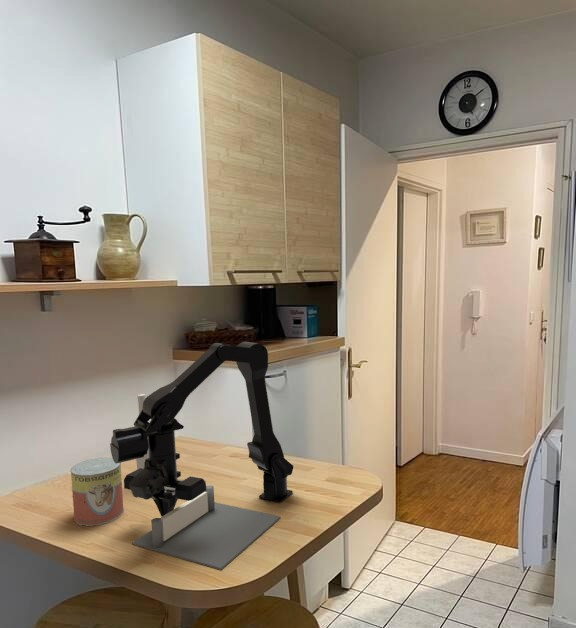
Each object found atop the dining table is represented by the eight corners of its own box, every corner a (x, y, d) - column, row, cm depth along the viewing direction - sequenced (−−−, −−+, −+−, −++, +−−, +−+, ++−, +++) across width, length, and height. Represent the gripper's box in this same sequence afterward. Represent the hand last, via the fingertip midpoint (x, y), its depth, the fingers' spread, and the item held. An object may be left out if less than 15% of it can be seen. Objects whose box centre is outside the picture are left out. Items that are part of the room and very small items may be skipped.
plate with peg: (200, 500, 128) (199, 477, 127) (280, 518, 117) (279, 493, 116) (132, 544, 108) (130, 517, 107) (221, 570, 97) (219, 540, 96)
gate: (209, 505, 123) (208, 484, 123) (216, 507, 122) (215, 486, 121) (158, 539, 107) (156, 516, 107) (166, 542, 106) (164, 518, 106)
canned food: (78, 530, 115) (75, 478, 114) (70, 512, 124) (66, 464, 123) (129, 516, 121) (126, 467, 120) (117, 500, 130) (114, 454, 129)
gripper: (102, 459, 108) (107, 530, 109) (172, 470, 100) (177, 547, 101) (139, 443, 118) (143, 508, 119) (205, 452, 110) (209, 522, 111)
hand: (166, 521), depth 112 cm, fingers closed
